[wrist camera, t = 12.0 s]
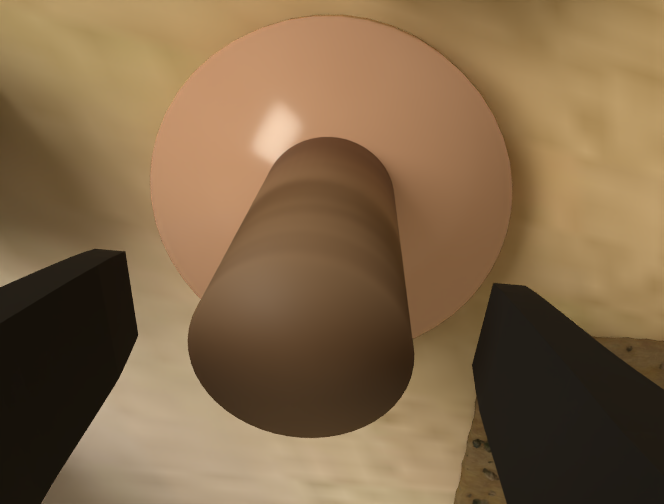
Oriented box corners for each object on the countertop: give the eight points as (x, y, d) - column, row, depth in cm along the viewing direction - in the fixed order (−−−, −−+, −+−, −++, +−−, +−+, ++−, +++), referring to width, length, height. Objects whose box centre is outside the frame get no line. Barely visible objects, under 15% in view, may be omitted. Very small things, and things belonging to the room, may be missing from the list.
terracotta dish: (465, 344, 17) (471, 368, 16) (180, 318, 17) (168, 339, 16) (542, 29, 12) (559, 33, 11) (147, 0, 13) (127, 1, 11)
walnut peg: (397, 254, 14) (417, 435, 8) (275, 262, 15) (214, 439, 9) (391, 130, 12) (410, 252, 7) (253, 143, 13) (161, 267, 7)
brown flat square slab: (712, 552, 22) (725, 574, 21) (441, 530, 23) (444, 551, 22) (854, 343, 16) (880, 362, 16) (487, 322, 17) (493, 339, 16)
